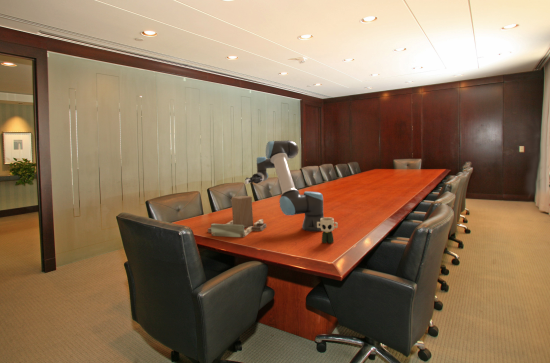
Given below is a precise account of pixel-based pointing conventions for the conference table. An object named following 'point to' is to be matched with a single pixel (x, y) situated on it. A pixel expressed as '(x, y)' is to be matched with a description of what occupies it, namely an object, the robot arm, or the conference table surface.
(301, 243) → the conference table surface
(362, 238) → the conference table surface
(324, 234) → the character mug
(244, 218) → the wooden block
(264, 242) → the conference table surface
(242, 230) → the tray
